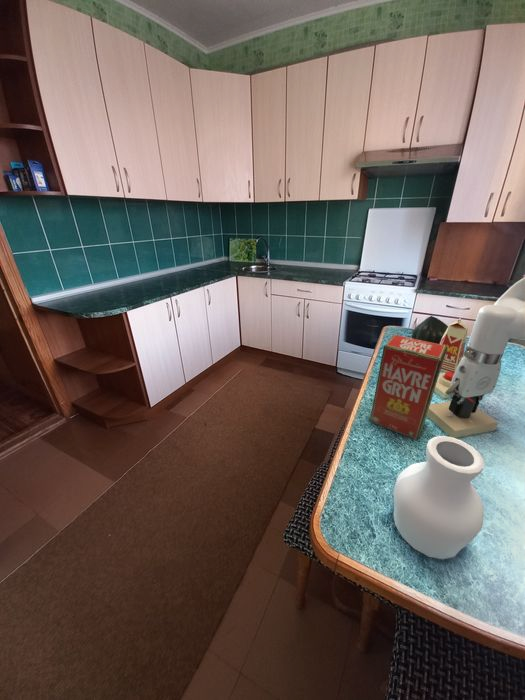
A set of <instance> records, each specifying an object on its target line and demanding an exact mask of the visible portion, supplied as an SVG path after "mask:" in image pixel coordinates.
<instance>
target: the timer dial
mask: <svg viewBox="0 0 525 700" xmlns="http://www.w3.org/2000/svg"><path fill="white" fill-rule="evenodd" d="M457 396H458V398H459V397H460V396H461V395H460V394H458V395H457ZM475 402H476V399H475V398H474V397H466V398H465V399H464V400H463V402H462V404H463V407H462V409H461V412H460V415H459V416H457V417H460V418H469V417H470V415H471V412H472V410H473V407H474V405H475ZM453 414H454V413H453ZM454 415H455V414H454Z"/></svg>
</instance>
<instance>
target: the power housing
mask: <svg viewBox="0 0 525 700" xmlns="http://www.w3.org/2000/svg"><path fill="white" fill-rule="evenodd" d="M445 373H446V372H440V373H439V377H438V380H437V383H436V386H435V390H434V394H437V395H438V396H439V397H440V398H442V399H444V400H445V399H449V398H450V396H448V395H447V394H446V393H445V392H446V391H447V390H448V389H449V388H450V385H451V381H448V380H446V379H444V376H445ZM450 399H451V398H450Z"/></svg>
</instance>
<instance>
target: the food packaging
mask: <svg viewBox="0 0 525 700" xmlns="http://www.w3.org/2000/svg"><path fill="white" fill-rule="evenodd" d="M446 351H447V346H446V345H441V344H436V343H431V342H426V341H422V340H417V339H413V338H412V337H407V336H403V335H399V334H392V335H391V337H390V338H389V339H388V341H387V342H386V343H385V345H383V350H382V355H381V358H380V359H381V360H380V365H379V369H378V376H377V380H376V386H375V387H376V388H375V392H374V396H373V400H372V407H371V411H370V417H369V422H371V423H374V424H376V425H378V426H381V427H383V428H386V429H388V430H390V431H393V432H395V433H399V434H401V435H403V436H405V437H408V438H411V439H413V440H416V441H417V440H419V438H420V436H421V434H422V431H423V428H424V426H425V422H426V420H427V413H428V410H429V407H430V405H431V403H432V400H433V396H434V394H435V392H434V390H435V386H436V383H437V380H438V377H439V375H440V374H441V367H442V364H443V360H444V357H445V354H446Z"/></svg>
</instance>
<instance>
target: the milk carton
mask: <svg viewBox="0 0 525 700" xmlns="http://www.w3.org/2000/svg"><path fill="white" fill-rule="evenodd" d="M447 326H448V328H447V330H446V332H445V333H444V335H443V337H442V339H441V341H440V344H441V345H446V346H447V351H446V354H445V357H444V360H443V364H442V367H441V370H440V372H443V373H446V372H453V373H455V371H456V368H457V366H458V364H459V363H460V361H461V359H462V357H464V353H465V350H466V344H467V338H468V330H469V329H468V326H466V325H465V324H464V322H462V318H461V317H459V318H458V319H457V321H454V322H452V323H450V324H449V325H447Z"/></svg>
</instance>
